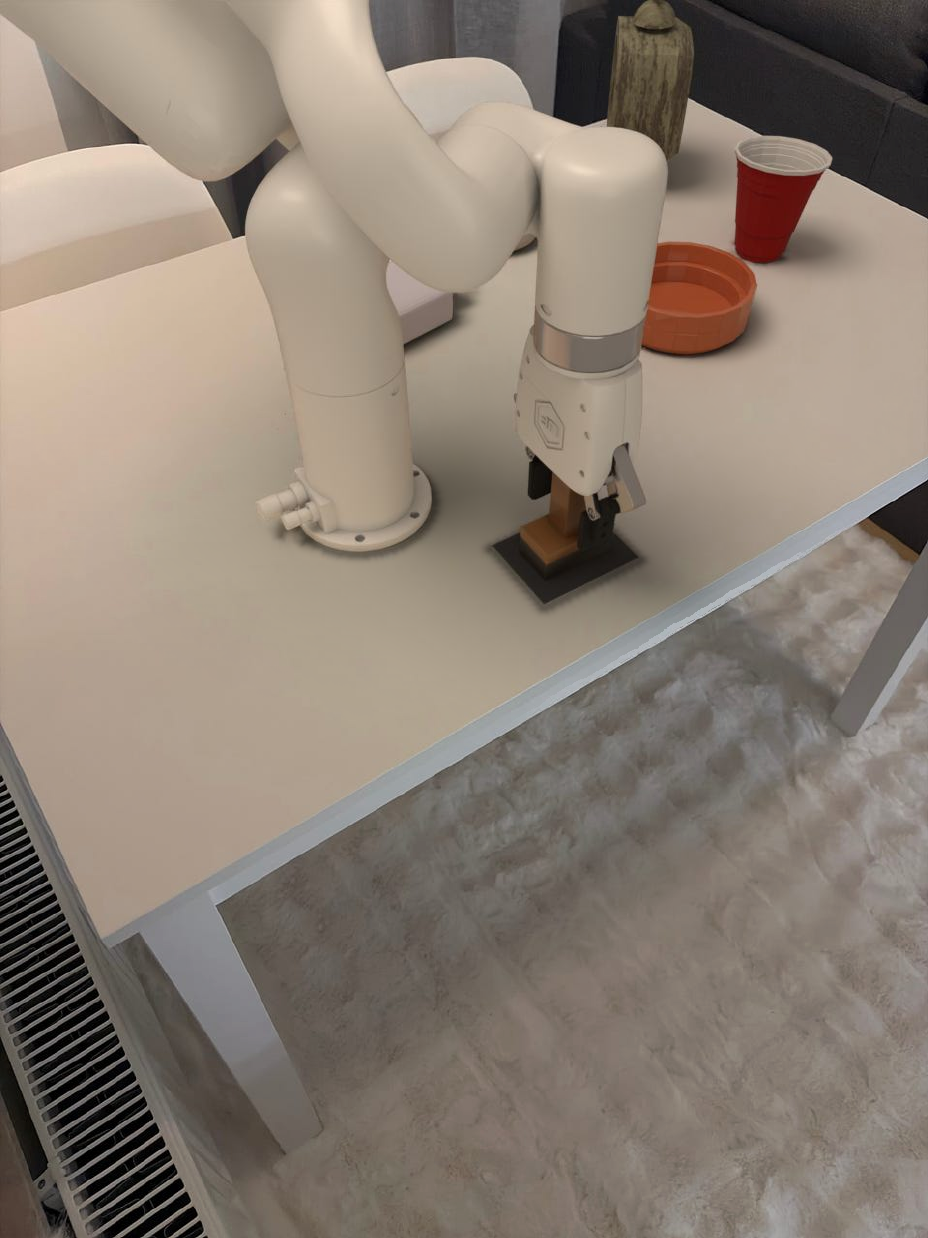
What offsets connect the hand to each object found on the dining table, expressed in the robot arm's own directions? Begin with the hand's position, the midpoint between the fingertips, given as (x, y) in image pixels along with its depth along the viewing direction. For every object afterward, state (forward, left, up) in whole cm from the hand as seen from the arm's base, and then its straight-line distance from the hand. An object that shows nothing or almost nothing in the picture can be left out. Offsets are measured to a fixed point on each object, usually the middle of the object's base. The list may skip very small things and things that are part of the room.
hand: (568, 515), depth 77 cm
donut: (+25, +49, -5) cm, 55 cm away
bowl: (+32, +23, -5) cm, 40 cm away
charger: (+8, +40, -5) cm, 41 cm away
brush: (0, 0, -4) cm, 4 cm away
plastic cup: (+50, +29, -5) cm, 58 cm away
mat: (0, 0, -5) cm, 5 cm away
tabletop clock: (+50, +53, -5) cm, 73 cm away
